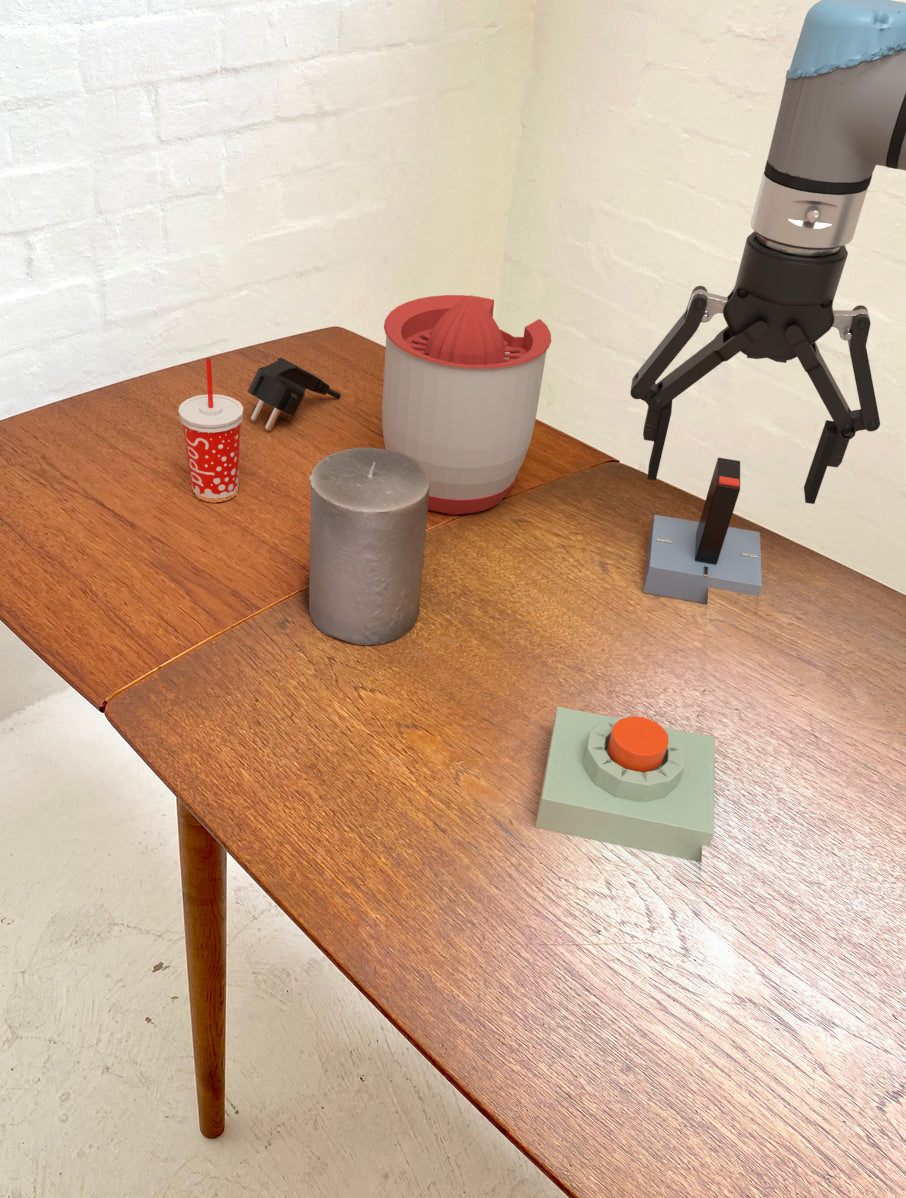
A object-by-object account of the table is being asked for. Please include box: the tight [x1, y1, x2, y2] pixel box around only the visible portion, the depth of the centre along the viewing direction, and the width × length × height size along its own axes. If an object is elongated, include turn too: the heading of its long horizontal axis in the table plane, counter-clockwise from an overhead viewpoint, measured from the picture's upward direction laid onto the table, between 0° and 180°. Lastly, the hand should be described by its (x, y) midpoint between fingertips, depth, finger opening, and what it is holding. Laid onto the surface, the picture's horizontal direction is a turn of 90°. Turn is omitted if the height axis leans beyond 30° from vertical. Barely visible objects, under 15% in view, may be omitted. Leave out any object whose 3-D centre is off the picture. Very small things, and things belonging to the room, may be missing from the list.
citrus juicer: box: [381, 294, 552, 516], centre depth 108 cm, size 16×17×20 cm
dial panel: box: [642, 514, 763, 605], centre depth 104 cm, size 10×9×3 cm
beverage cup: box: [178, 357, 244, 499], centre depth 107 cm, size 6×6×14 cm
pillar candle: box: [308, 447, 430, 646], centre depth 93 cm, size 10×10×15 cm
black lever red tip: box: [695, 457, 741, 564], centre depth 100 cm, size 5×2×8 cm, turn 166°
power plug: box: [247, 357, 342, 432], centre depth 123 cm, size 6×8×12 cm
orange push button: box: [608, 715, 669, 772], centre depth 79 cm, size 4×4×2 cm
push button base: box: [534, 706, 716, 863], centre depth 81 cm, size 12×10×5 cm
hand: (729, 484), depth 98 cm, fingers open, 13 cm apart
